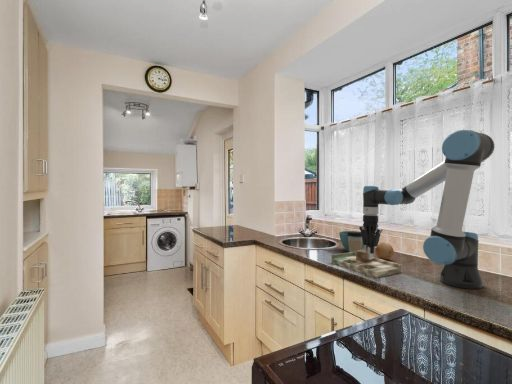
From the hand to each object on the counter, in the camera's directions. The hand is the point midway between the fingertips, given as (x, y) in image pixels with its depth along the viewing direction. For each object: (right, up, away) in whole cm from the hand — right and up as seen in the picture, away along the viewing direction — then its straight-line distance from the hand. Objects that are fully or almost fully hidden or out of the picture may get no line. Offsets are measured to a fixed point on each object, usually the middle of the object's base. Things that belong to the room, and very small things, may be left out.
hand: (370, 259), depth 145 cm
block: (-2, -2, +3) cm, 4 cm away
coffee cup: (0, -4, +22) cm, 22 cm away
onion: (+15, -4, +15) cm, 22 cm away
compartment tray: (-4, -4, -2) cm, 6 cm away
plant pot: (+4, -4, +37) cm, 37 cm away
